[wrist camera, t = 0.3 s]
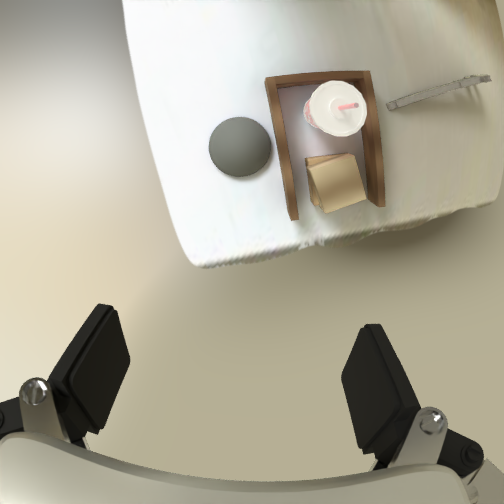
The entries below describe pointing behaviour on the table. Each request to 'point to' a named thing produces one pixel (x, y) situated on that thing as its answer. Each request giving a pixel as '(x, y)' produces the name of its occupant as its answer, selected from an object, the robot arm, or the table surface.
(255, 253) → the table surface
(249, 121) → the coaster
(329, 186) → the offcut upper
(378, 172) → the rack
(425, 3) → the table surface
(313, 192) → the offcut lower
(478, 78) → the caliper
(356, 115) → the beverage cup
